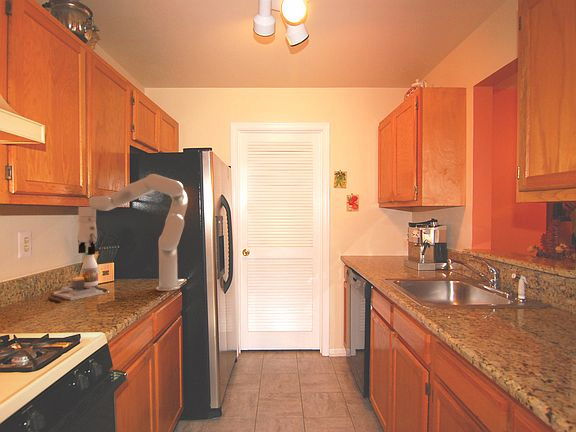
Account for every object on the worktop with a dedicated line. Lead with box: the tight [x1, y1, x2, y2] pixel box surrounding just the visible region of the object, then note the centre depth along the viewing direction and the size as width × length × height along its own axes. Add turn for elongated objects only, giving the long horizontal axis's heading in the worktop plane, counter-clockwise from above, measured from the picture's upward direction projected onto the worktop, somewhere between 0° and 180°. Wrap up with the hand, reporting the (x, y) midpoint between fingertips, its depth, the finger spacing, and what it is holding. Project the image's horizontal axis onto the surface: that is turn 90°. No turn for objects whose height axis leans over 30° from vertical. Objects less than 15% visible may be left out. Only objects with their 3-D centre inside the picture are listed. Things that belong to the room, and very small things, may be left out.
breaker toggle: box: [71, 276, 84, 290], centre depth 165 cm, size 4×4×7 cm
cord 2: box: [93, 285, 108, 293], centre depth 173 cm, size 13×3×1 cm, turn 57°
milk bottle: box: [81, 251, 99, 287], centre depth 184 cm, size 8×8×20 cm
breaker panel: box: [53, 285, 104, 301], centre depth 165 cm, size 15×20×4 cm
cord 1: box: [48, 296, 63, 304], centre depth 152 cm, size 13×1×1 cm, turn 57°
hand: (86, 253), depth 159 cm, fingers open, 9 cm apart
